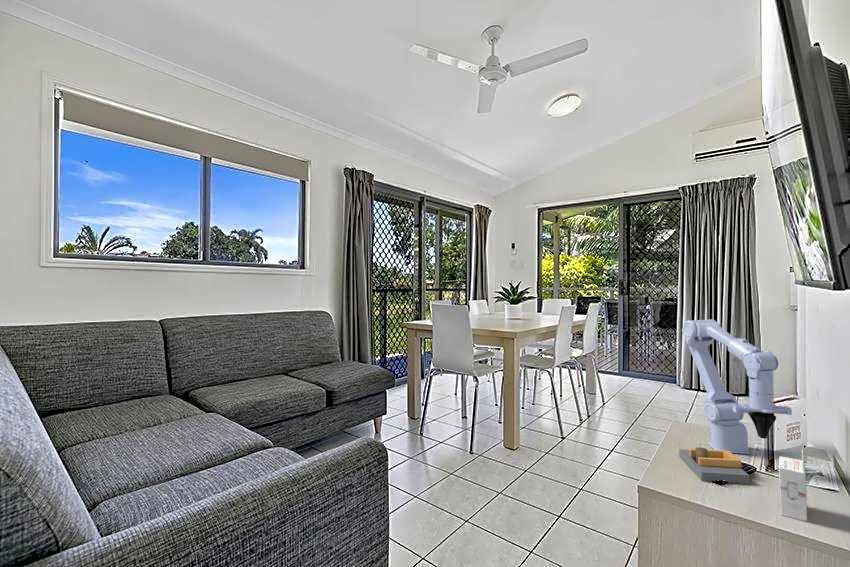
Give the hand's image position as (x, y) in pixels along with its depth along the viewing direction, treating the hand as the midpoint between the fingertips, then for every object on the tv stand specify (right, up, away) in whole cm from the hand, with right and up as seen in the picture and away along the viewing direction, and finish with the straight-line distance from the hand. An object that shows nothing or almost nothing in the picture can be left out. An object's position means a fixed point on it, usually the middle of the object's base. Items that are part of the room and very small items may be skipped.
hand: (762, 437), depth 124 cm
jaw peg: (-18, -10, +1) cm, 20 cm away
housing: (-15, -10, 0) cm, 18 cm away
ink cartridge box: (-11, -10, -22) cm, 27 cm away
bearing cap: (-14, -7, 0) cm, 16 cm away
